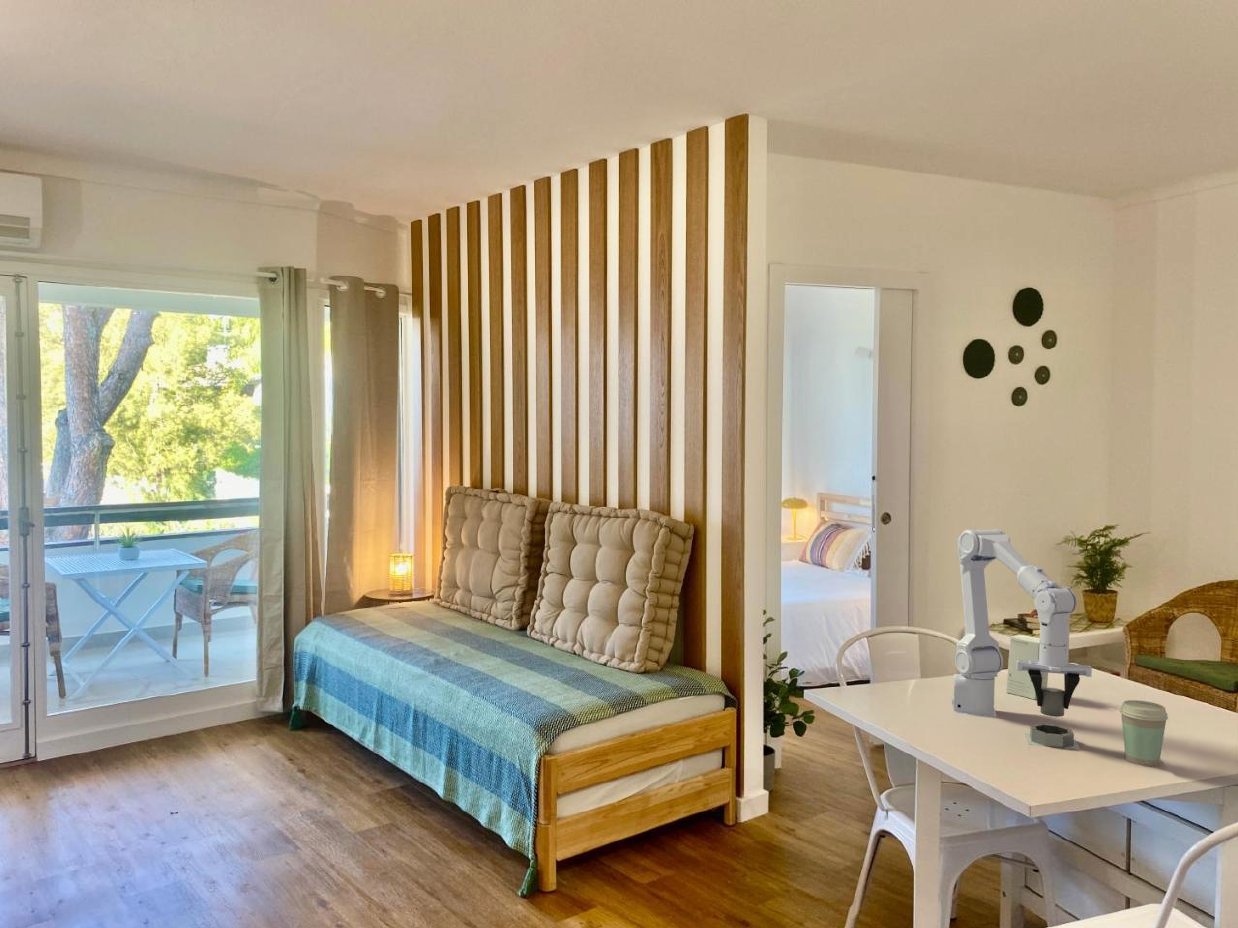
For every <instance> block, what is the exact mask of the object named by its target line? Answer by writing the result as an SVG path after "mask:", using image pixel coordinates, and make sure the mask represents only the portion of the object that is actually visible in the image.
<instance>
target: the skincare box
mask: <svg viewBox="0 0 1238 928" xmlns="http://www.w3.org/2000/svg"><path fill="white" fill-rule="evenodd" d="M1009 638H1010V639H1009V651H1008V661H1007V676H1006V691H1005V692H1006V693H1007V694H1011V695H1014V696H1015V695H1016V696H1019V697H1024V698H1027V699H1031V700H1036V701H1037V698H1036V693H1035V689H1034V686H1033V683H1032V680H1031V678H1030V676H1029V673H1028V671H1024V670H1023V671H1017V669H1016V667H1017V660H1026V661H1039V646H1040V637H1035V636H1031V635H1026V634H1017V635H1011V636H1010V637H1009ZM1041 676H1042V687H1041V689H1042V688H1048V682H1049V681H1048V679H1049V673H1047V672H1041Z"/></svg>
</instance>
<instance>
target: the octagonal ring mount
mask: <svg viewBox="0 0 1238 928" xmlns="http://www.w3.org/2000/svg"><path fill="white" fill-rule="evenodd" d="M1029 725H1030V724H1029ZM1029 734H1030V738H1031V741H1032V742H1035V743H1038V744H1041V745H1043V746H1042V747H1048V746H1049V747H1050V748H1057V747H1058V748H1059V749H1066V748H1065V747H1070V746H1074V739H1075V733H1074V732H1073V729H1071V728H1068V727H1065V726H1061V725H1059V724H1051V723H1041V722H1040V723H1036V724H1031V725H1030V727H1029Z"/></svg>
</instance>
